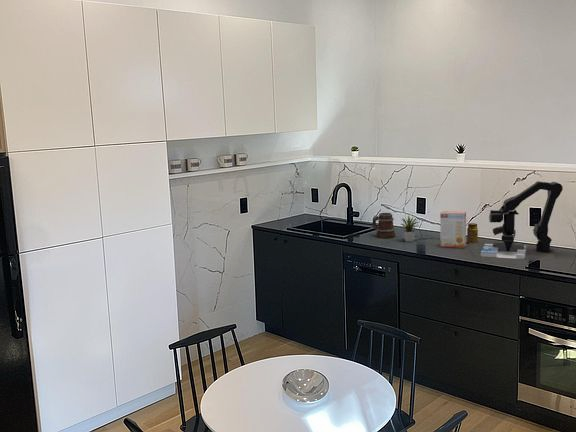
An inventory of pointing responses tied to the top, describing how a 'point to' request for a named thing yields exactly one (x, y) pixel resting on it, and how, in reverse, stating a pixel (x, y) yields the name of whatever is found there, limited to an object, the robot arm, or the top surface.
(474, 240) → the condiment
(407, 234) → the house plant
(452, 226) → the cracker box
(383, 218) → the mug
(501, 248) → the long grey beam
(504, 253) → the white plate with bars
